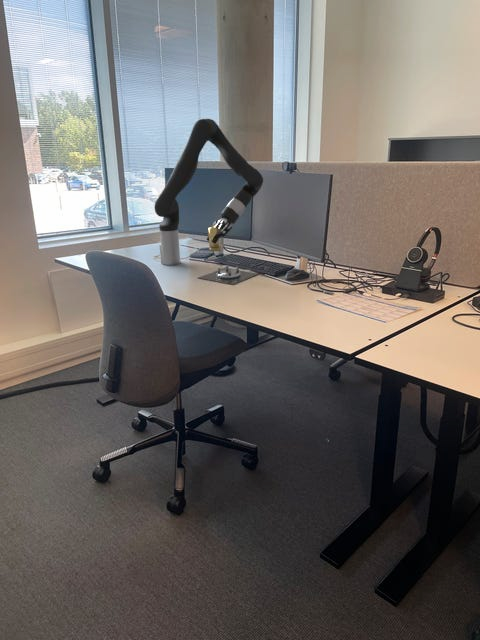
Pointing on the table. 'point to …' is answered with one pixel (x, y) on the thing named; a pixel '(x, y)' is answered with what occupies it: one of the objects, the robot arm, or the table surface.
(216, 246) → the gold upright cylinder
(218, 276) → the flange
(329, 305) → the table surface
